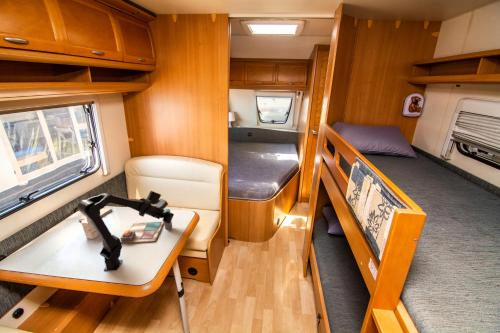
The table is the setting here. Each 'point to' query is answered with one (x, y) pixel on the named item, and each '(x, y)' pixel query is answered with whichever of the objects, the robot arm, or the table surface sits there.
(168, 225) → the teal rubber stamp
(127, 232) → the button
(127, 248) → the table surface
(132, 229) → the colouring board
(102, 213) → the washcloth
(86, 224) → the ink cartridge box
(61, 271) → the table surface
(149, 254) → the table surface
